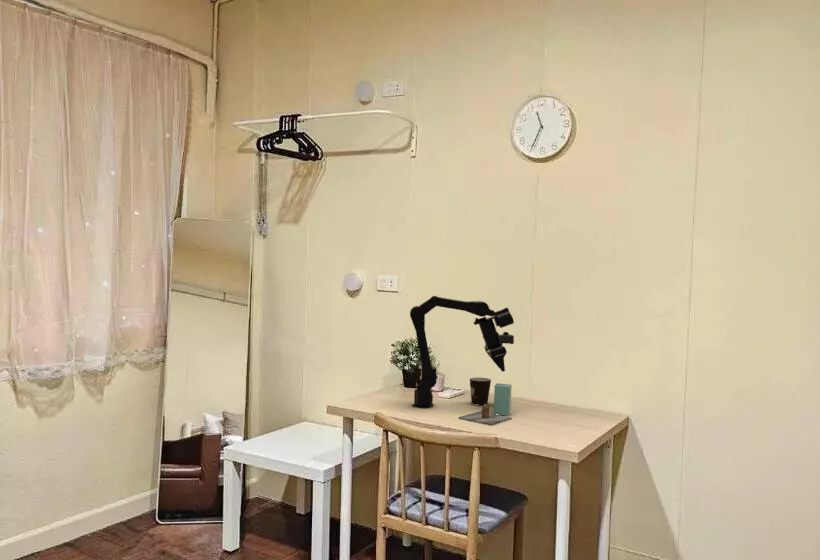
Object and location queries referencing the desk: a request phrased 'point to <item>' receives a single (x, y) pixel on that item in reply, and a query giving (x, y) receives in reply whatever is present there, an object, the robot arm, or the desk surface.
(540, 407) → the desk surface
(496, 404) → the teal rectangular pillar
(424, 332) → the robot arm
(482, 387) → the coffee mug
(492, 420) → the flat grey base tile
